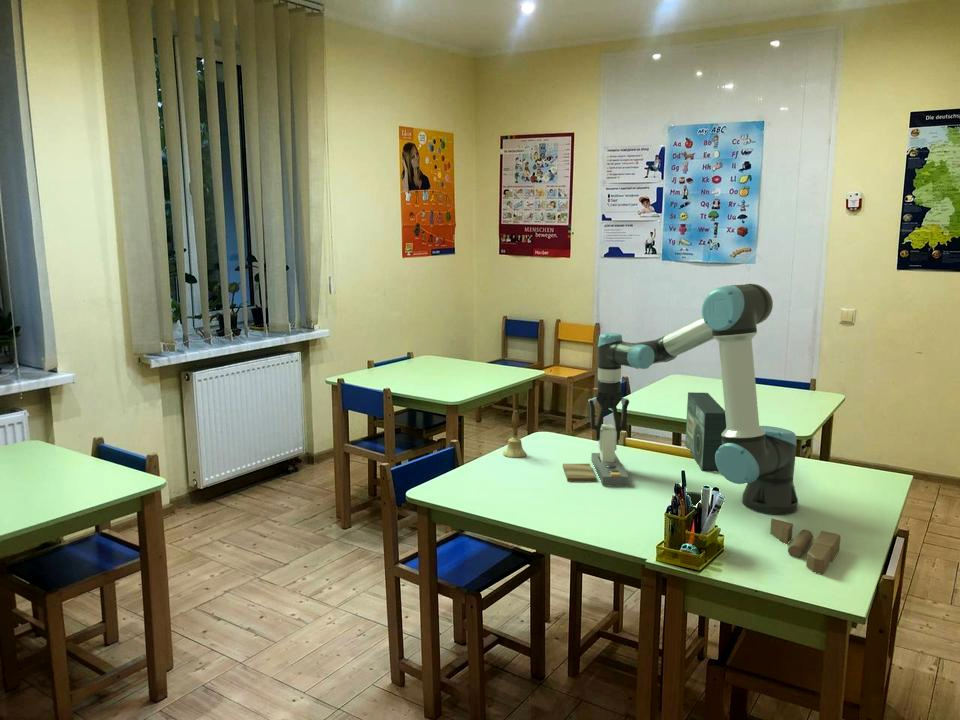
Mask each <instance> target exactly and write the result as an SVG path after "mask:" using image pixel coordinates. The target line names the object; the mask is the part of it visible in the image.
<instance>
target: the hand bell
mask: <svg viewBox="0 0 960 720" xmlns="http://www.w3.org/2000/svg"><path fill="white" fill-rule="evenodd" d="M511 424H512V436H511V437H510V438H509V439H508V443H507V447H506V449H505V450H504V451H503V453H502V455H503V456H505V457H508V458H514V459H515V458H517V459H518V458H525V456H527V452H526V450H525V449H524V448H523V445H522V439H521V438H519V437H518V434H519V433H518V428H519V424H520V415H519V411H518V410H513V413H512V416H511Z"/></svg>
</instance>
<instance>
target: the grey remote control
mask: <svg viewBox="0 0 960 720" xmlns="http://www.w3.org/2000/svg"><path fill="white" fill-rule="evenodd" d="M590 457H591V461H592V462H591V463H593V464H592V465H594V466H593V468H594V467H595V468H594V470H595V469H596V470H595V472H597V473H596V474H598V475H597V477H598V476H599V477H598V479H599V478H600V479H599V480H601V481H600V483H601V486H602V485H628V486H629V479H630V478H629V475H628V473H627V471H626V470H625V468H624V466H623V463H621V460H620V459H619V457H618V456H617V454H616V453H615V462H601V460H600V452H591V456H590Z"/></svg>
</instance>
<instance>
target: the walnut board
mask: <svg viewBox="0 0 960 720" xmlns="http://www.w3.org/2000/svg"><path fill="white" fill-rule="evenodd" d="M562 470H563V472H564V475H565V477H566V480H567V482H568V483H569V481H596V482H597V477H596V475H595V473H594V471H593V467H592V465H591V464H590V463H562Z"/></svg>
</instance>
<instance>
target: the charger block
mask: <svg viewBox="0 0 960 720" xmlns="http://www.w3.org/2000/svg"><path fill="white" fill-rule="evenodd" d="M615 429H616V428H615V424H614V423H613V424H612V423H611V424H609V423H606V424H605V423H602V425H601V430H602V431H603V433H602V450H599V453H600V460H601V462H615V454H616V450H615Z"/></svg>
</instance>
